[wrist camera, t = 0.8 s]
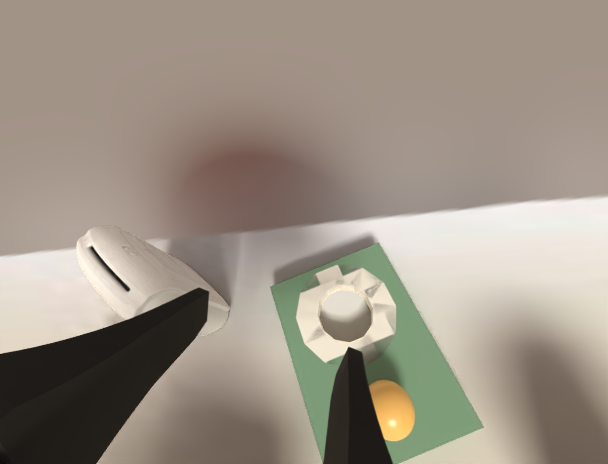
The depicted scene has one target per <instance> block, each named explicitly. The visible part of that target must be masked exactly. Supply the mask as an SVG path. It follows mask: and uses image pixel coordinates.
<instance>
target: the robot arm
mask: <svg viewBox="0 0 608 464" xmlns="http://www.w3.org/2000/svg"><path fill="white" fill-rule="evenodd" d="M208 303H209V291H207V290H204V289H202V288H199V287H198V288H196V289H194V290H192V291H190V292H188V293H186V294H183V295H181V296H179V297H177V298H175V299H173V300H171V301H169V302H167V303H165V304H162V305H160V306H158V307H156V308H154V309H152V310H149V311H147V312H145V313H142V314H140V315H137V316H135V317H133V318H130V319H128V320H125V321H122V322H120V323H117V324H114V325H111V326H108V327H106V328H103V329H100V330H97V331H93V332H90V333H86V334H83V335H80V336H76V337H73V338H69V339H66V340H62V341H58V342H54V343H50V344H46V345H42V346H37V347H33V348H28V349H24V350H19V351H13V352H8V353H3V354H0V464H96V463H97V462H98V460H99V459H100V458H101V456H102V455H103V453H104V452H105V450H106V449H107V447H108V446H109V445H110V443H111V442H112V440H113V439H114V437H115V436H116V435H117V433H118V432H119V430H120V429H121V428H122V426H123V425H124V424H125V422H126V421H127V419H128V418H129V417H130V415H131V414H132V413H133V411H134V410H135V408H136V407H137V406H138V405H139V403H140V402H141V401H142V399H143V398H144V397H145V395H146V394H147V393H148V391H149V390H150V389H151V388H152V386H153V385H154V384H155V383H156V382H157V380H158V379H159V378H160V377H161V376H162V375H163V374H164V373H165V371H166V370H167V369H168V368H169V367H170V366H171V365H172V364H173V363H174V361H175V360H176V359H177V358H178V357H179V356H180V355H181V354H182V353H183V351H184V350H185V349H186V348H187V347H188V346H189V345H190V344H191V342H192V341H193V340H194V339H195V338H196V336H197V335H198V333H199V332H200V331H201V329H202V328H203V326H204V325H205V323H206V322H207V316H208ZM323 464H393V461H392V459H391V456H390V453H389V451H388V448H387V445H386V442H385V439H384V436H383V433H382V430H381V427H380V424H379V421H378V418H377V414H376V411H375V407H374V404H373V400H372V396H371V392H370V388H369V384H368V380H367V375H366V370H365V365H364V359H363V354H362V352H361V351H359V350H356V349H354V348H351V347H348V348H347V351H346V353H345V355H344V357H343V359H342V362H341V364H340V366H339V368H338V371H337V373H336V376H335V380H334V385H333V390H332V394H331V400H330V408H329V417H328V426H327V435H326V444H325V453H324V461H323Z"/></svg>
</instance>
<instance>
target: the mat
mask: <svg viewBox="0 0 608 464" xmlns="http://www.w3.org/2000/svg"><path fill="white" fill-rule="evenodd" d="M270 288H271V291H272V295H273V298H274V301H275V305H276V308H277V311H278V315H279V318H280V321H281V325H282V328H283V331H284V335H285V338H286V341H287V345H288V348H289V352H290V355H291V358H292V362H293V365H294V368H295V372H296V375H297V378H298V382H299V385H300V388H301V392H302V395H303V398H304V402H305V405H306V408H307V412H308V415H309V418H310V422H311V425H312V428H313V432H314V435H315V439H316V442H317V445H318V449H319V452H320V455H321V459H322V462H323V461H324V453H325V444H326V435H327V426H328V417H329V408H330V400H331V394H332V390H333V385H334V380H335V376H336V373H337V371H338V368H339V366H340V364H341V362H342V359H343V357H344V355H345V353H346V351H347V348H348V347H351V348H354V349H356V350H359V351H361V352H362V354H363V359H364V365H365V370H366V375H367V380H368V384H369V386H370V385H371V384H372V383H374V382H375V381H378V380H389V381H393V382H395V383H397V384H398V385H400V386H401V387H402V388H403V389H404V390H405V391H406V392H407V393H408V395H409V396H410V398H411V400H412V403H413V406H414V410H415V422H414V426H413V429H412V431H411V432H410V434H409V435H408V436H407V437H405V438H404V439H402V440H399V441H388V440H385V442H386V445H387V448H388V451H389V453H390V456H391V459H392V461H393V464H399V463H401V462H403V461H406V460H408V459H410V458H413V457H415V456H417V455H420V454H422V453H424V452H427V451H429V450H432V449H434V448H436V447H439V446H441V445H443V444H446V443H448V442H450V441H453V440H455V439H457V438H460V437H462V436H464V435H467V434H469V433H472V432H474V431H476V430H479V429H481V428H483V427H484V426H483V425H482V423H481V421H480V419H479V418H478V416H477V414H476V412H475V411H474V409H473V407H472V405H471V404H470V402H469V400H468V398H467V397H466V395H465V393H464V391H463V390H462V388H461V386H460V384H459V382H458V381H457V379H456V377H455V375H454V374H453V372H452V370H451V368H450V367H449V365H448V363H447V361H446V360H445V358H444V356H443V354H442V353H441V351H440V349H439V347H438V346H437V344H436V342H435V340H434V339H433V337H432V335H431V333H430V332H429V330H428V328H427V326H426V325H425V323H424V321H423V319H422V318H421V316H420V314H419V312H418V311H417V309H416V307H415V305H414V304H413V302H412V300H411V298H410V297H409V295H408V293H407V291H406V290H405V288H404V286H403V284H402V283H401V281H400V279H399V277H398V276H397V274H396V272H395V270H394V269H393V267H392V265H391V263H390V262H389V260H388V258H387V256H386V254H385V253H384V251H383V249H382V247H381V246H380V244H379V243H377V244H374V245H372V246H370V247H367V248H365V249H362V250H360V251H357V252H355V253H352V254H350V255H347V256H345V257H342V258H340V259H337V260H335V261H332V262H330V263H328V264H325V265H323V266H320V267H318V268H315V269H313V270H310V271H308V272H305V273H303V274H300V275H298V276H295V277H293V278H290V279H288V280H286V281H283V282H281V283H278V284H276V285H273V286H271V287H270ZM339 290H347V291H354V292H355V293H357V294H358V295H360V296H361V297H362V298H364V299H365V300H366V303H367V305H368V307H369V309H370V311H371V324H370V328H369V329H368V331H367V332H366V334H365V335H364V336H363V337H362V338H359V339H357V340H354V341H352V342H345V341H339V340H334V339H333V338H332V337H331V336H330V335H329V334H328V333H326V332H325V331H324V328H323V325H322V323H321V320H320V313H321V306H322V304H323V302H324V301H325V300H326V298H327V297H328V296H329V295H330V294H332V293H334V292H337V291H339Z"/></svg>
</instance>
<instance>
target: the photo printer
mask: <svg viewBox="0 0 608 464" xmlns="http://www.w3.org/2000/svg"><path fill="white" fill-rule="evenodd" d="M76 251H77V258H78V261H79V264H80V266H81V268H82V270H83V272H84V274H85V275H86V277H87V278H88V280H89V281H90V283H91V284H92V286H93V287H94V288H95V289H96V291H97V292H98V293H99V294H100V296H101V297H102V298H103V299H104V300H105V301H106V302H107V303H108V304H109V305H110V306H111V307H112V308H113V309H114V310H115V311H116V312H117V313H118V314H119V315H120V316H122V317H123V318H124V319H126V320H128V319H130V318H133V317H135V316H137V315H140V314H142V313H145V312H147V311H149V310H152V309H154V308H156V307H158V306H160V305H162V304H165V303H167V302H169V301H171V300H173V299H175V298H177V297H179V296H181V295H183V294H186V293H188V292H190V291H192V290H194V289H196V288H198V287H199V288H202V289H204V290H207V291H209V303H208V316H207V322H206V323H205V325H204V326H203V328H202V329H201V331H200V332H199V333H198V335H200V336H208V335H209V334H210V333H213V332H216V331H218V330H219V329H220V328H221V327H222V326H223V325H224V324H225V322H226V321H227V318H228V315H229V312H228V311H229V310H230V308H229V306H228V304H227V303H226V302H225V300H224V299H223V298H222V297H221V296H220V295H219V294H218V293H217V292H216V291H215V290H214V289H213V288H212V287H211V286H210V285H209V284H208V283H207V282H206V281H205V280H203V279H202V278H201V277H200V276H199V275H198V274H197V273H196V272H195V271H194V270H192V269H191V268H190V267H189V266H188V265H186V264H185V263H183V262H182V261H180V260H178V259H176V258H174V257H173V256H171V255H169V254H167V253H165V252H163V251H162V250H160V249H158V248H156V247H154V246H153V245H151V244H149V243H147V242H145V241H144V240H142V239H140V238H138V237H136V236H134V235H133V234H131V233H129V232H127V231H125V230H123V229H121V228H119V227H115V226H97V227H93V228H91V229H89V230H88V232H87V233H86V235H85V236H83V237H81V238H80V239H79V240H78V241H77V248H76Z"/></svg>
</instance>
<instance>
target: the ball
mask: <svg viewBox="0 0 608 464" xmlns="http://www.w3.org/2000/svg"><path fill="white" fill-rule="evenodd" d="M369 388H370V392H371V396H372V400H373V404H374V407H375V411H376V414H377V418H378V421H379V424H380V427H381V430H382V433H383V436H384V439H385V440H388V441H399V440H402V439H404V438H405V437H407V436H408V435H409V434H410V432H411V431H412V429H413V426H414V422H415V410H414V406H413V403H412V400H411V398H410V396H409V395H408V393H407V392H406V391H405V390H404V389H403V388H402V387H401V386H400V385H398V384H397V383H395V382H393V381H389V380H378V381H375V382H374V383H372V384H371V385H370V386H369Z"/></svg>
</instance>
